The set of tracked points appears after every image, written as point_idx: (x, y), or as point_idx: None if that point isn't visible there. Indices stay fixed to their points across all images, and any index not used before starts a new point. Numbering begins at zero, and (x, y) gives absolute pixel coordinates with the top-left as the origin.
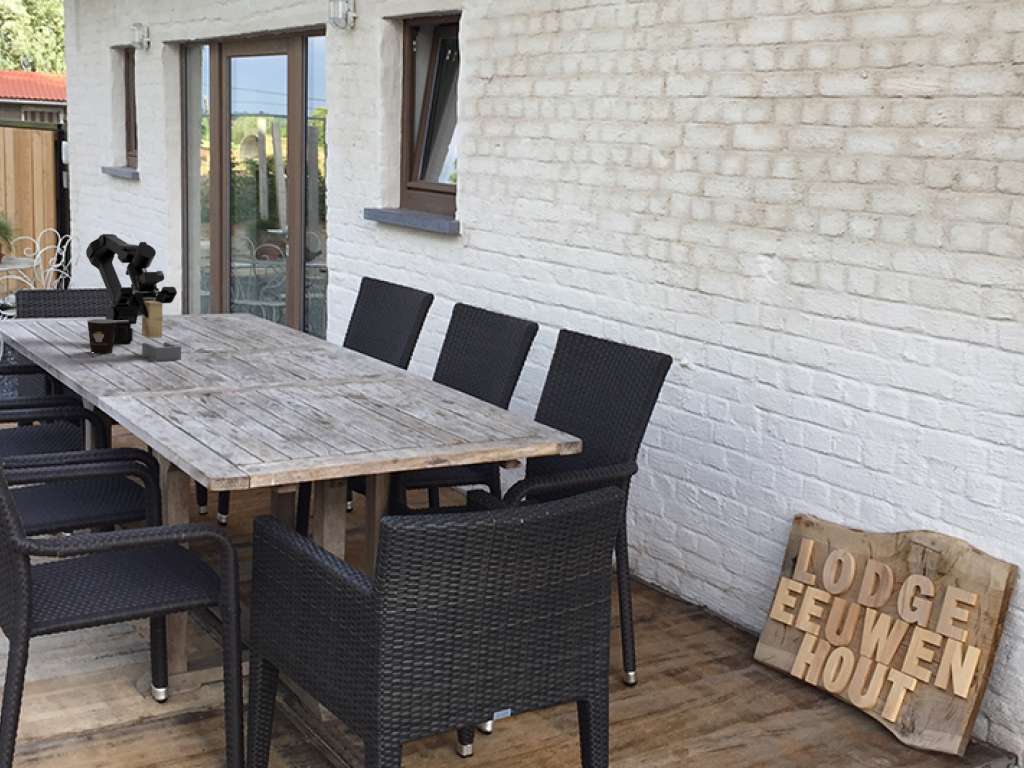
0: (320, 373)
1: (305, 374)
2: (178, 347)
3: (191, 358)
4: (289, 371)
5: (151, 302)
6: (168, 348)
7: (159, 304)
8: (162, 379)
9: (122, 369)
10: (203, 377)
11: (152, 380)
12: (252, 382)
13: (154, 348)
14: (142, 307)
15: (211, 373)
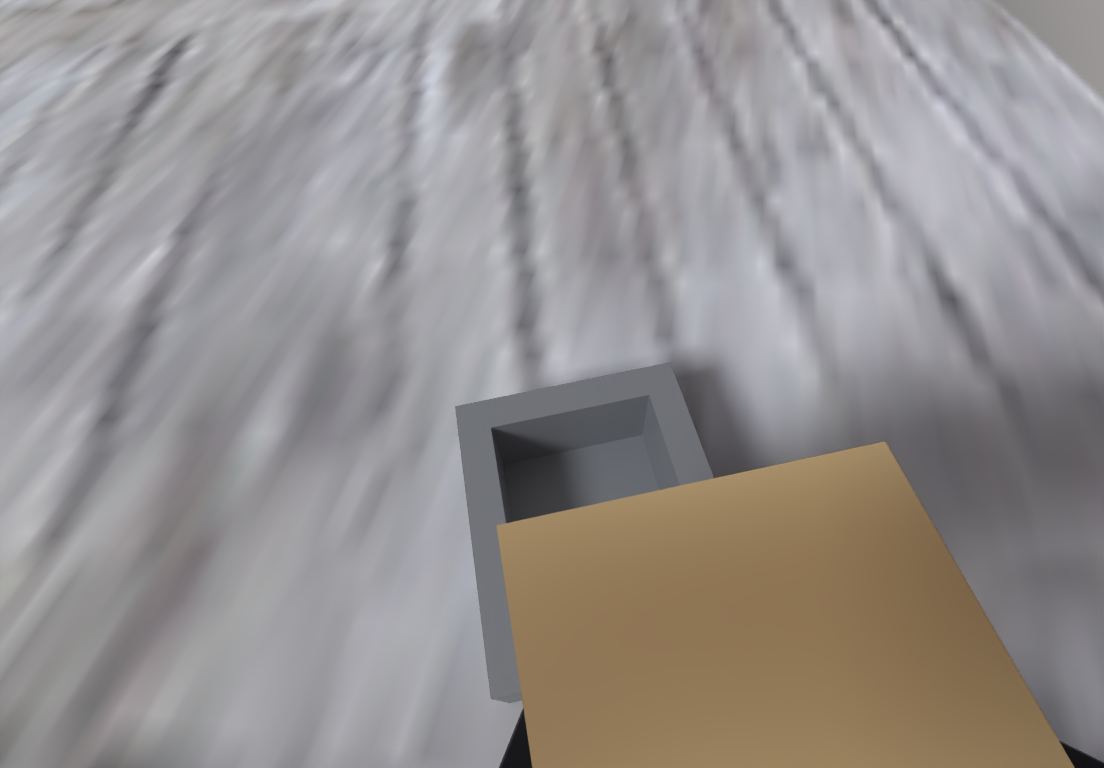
0: (38, 108)
1: (108, 97)
2: (479, 403)
3: (387, 484)
4: (119, 140)
5: (865, 696)
6: (564, 388)
7: (595, 516)
8: (687, 50)
9: (864, 204)
10: (520, 70)
11: (727, 40)
12: (383, 15)
13: (676, 385)
14: (1085, 758)
15: (459, 121)
